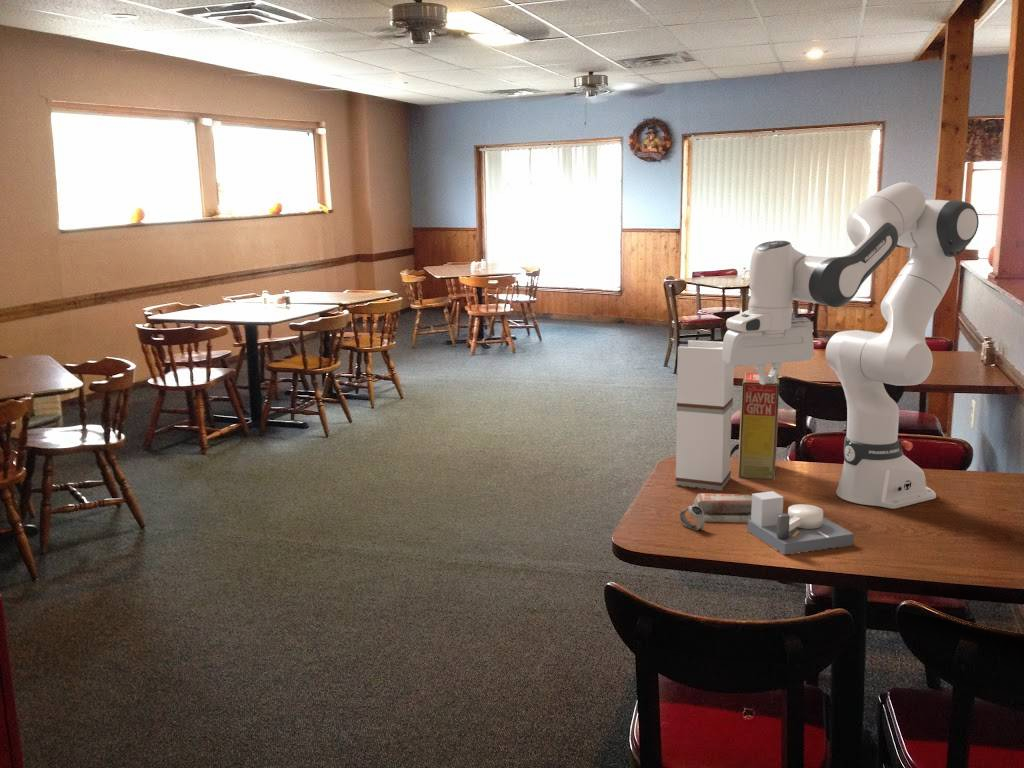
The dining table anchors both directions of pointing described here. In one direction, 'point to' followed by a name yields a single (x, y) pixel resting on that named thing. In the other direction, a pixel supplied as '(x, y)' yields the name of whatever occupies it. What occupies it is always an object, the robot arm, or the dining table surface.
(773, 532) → the base
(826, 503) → the dining table surface
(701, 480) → the white striped tall box
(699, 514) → the wristwatch
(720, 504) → the packaged product
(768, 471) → the food packaging
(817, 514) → the knob
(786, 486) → the dining table surface
